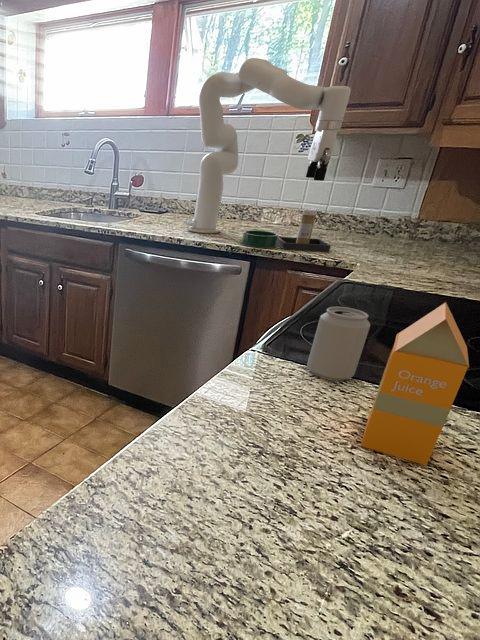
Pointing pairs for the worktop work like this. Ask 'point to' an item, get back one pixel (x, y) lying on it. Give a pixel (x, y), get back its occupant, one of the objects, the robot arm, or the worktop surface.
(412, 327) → the orange juice
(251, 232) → the bowl
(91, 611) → the worktop surface
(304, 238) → the sprinkles bottle
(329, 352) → the can
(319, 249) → the tray
